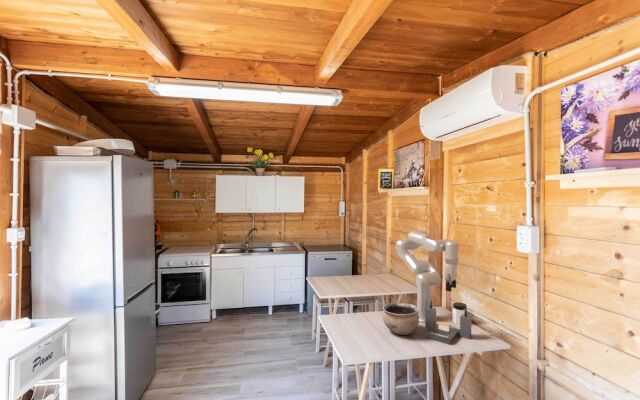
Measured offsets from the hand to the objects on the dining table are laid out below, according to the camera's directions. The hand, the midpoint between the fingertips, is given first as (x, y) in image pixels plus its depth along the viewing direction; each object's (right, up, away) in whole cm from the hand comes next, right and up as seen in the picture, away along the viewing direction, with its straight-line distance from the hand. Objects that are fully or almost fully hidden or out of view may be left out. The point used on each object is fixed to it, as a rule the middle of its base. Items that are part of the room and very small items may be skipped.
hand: (450, 289), depth 196 cm
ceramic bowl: (-31, -26, -1) cm, 41 cm away
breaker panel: (-7, -26, -7) cm, 28 cm away
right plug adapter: (+6, -26, -7) cm, 28 cm away
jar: (+12, -26, +15) cm, 33 cm away
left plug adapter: (-10, -26, +6) cm, 29 cm away
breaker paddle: (-6, -23, -5) cm, 24 cm away
